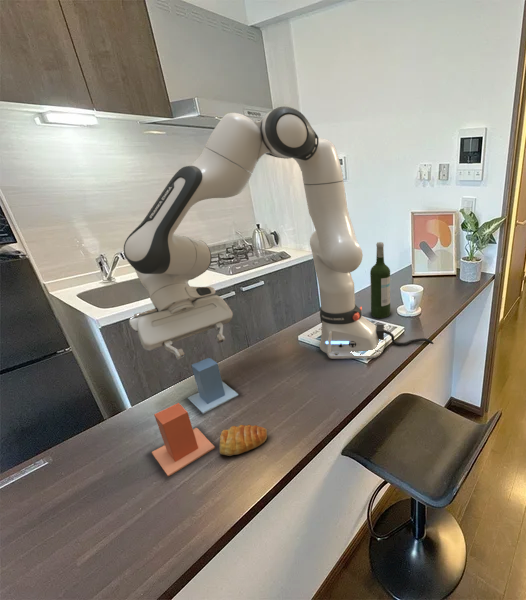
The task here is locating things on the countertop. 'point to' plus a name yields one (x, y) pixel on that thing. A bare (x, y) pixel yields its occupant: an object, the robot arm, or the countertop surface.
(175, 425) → the terracotta block
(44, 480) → the countertop surface
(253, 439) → the pastry
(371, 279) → the wine bottle
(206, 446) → the terracotta mat
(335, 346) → the robot arm
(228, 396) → the blue mat
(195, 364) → the blue block
